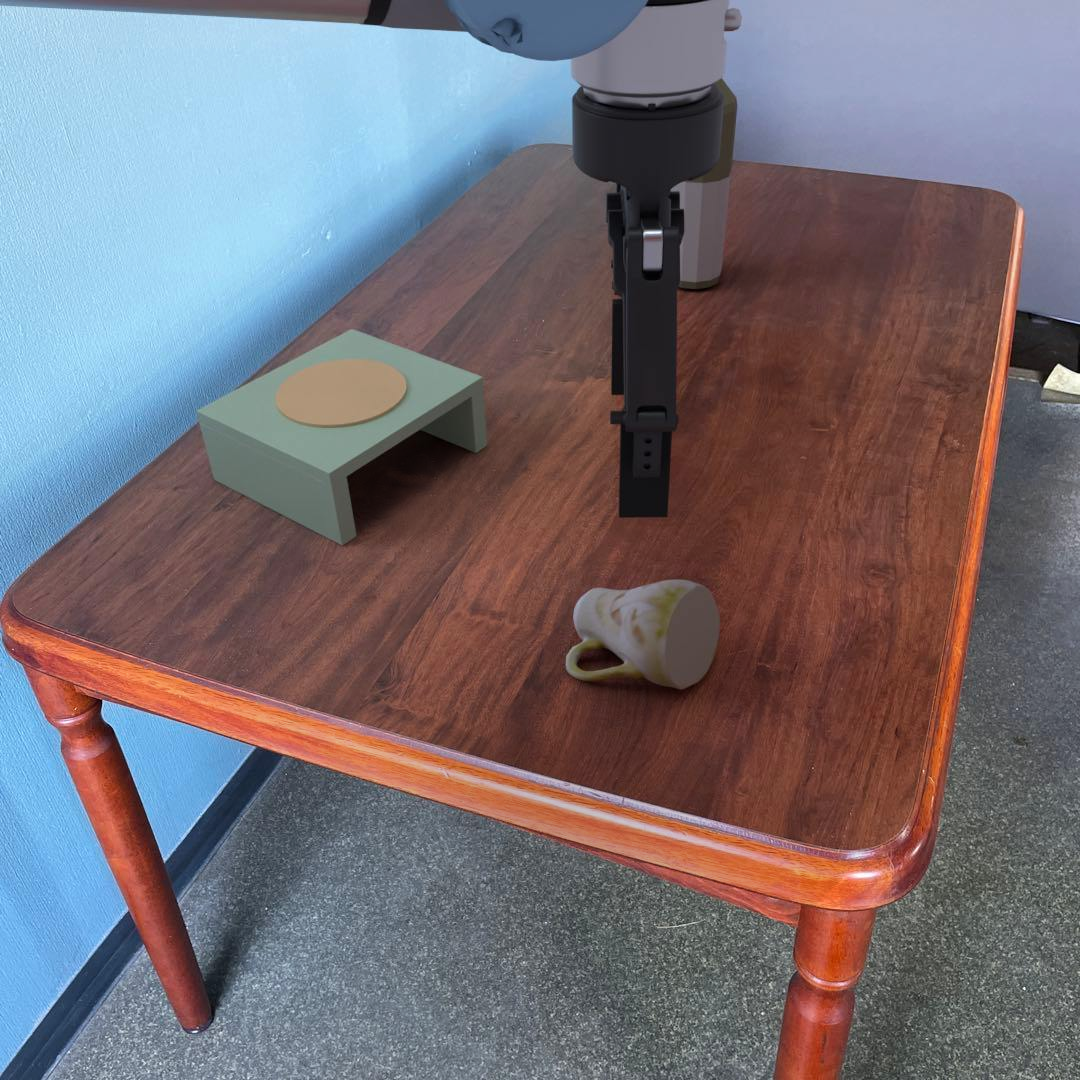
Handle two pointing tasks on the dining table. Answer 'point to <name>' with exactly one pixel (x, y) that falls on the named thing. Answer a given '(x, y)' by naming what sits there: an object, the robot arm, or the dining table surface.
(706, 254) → the bottle
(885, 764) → the dining table surface
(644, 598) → the mug
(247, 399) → the shelf
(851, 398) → the dining table surface
